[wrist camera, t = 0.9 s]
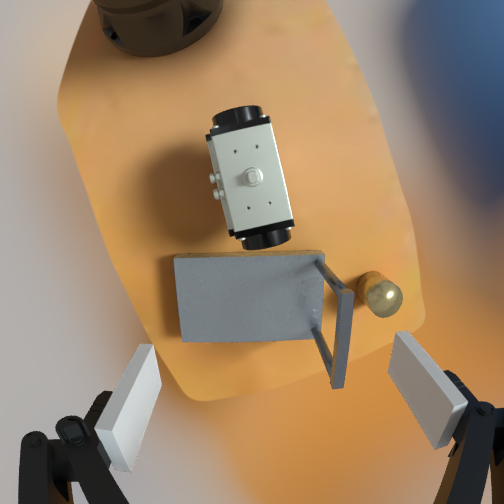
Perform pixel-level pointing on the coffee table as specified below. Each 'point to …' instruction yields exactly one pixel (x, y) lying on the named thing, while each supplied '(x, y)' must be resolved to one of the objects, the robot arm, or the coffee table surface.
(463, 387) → the robot arm
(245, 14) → the coffee table surface
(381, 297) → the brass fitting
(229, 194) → the pneumatic valve
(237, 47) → the coffee table surface
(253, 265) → the dolly
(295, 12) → the coffee table surface
